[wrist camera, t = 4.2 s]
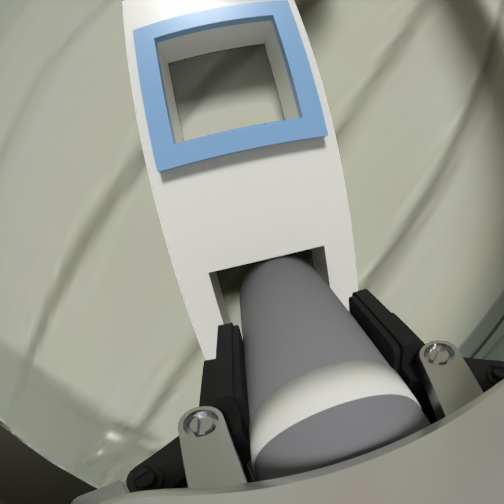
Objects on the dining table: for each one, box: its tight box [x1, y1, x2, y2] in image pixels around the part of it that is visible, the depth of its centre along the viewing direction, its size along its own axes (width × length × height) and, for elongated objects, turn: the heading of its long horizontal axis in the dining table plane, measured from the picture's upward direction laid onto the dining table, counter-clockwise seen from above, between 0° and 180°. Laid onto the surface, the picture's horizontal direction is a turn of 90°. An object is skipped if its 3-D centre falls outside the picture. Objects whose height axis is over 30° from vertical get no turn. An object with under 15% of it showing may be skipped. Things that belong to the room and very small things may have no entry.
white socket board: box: [122, 0, 358, 360], centre depth 14 cm, size 26×9×4 cm, turn 13°
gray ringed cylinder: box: [240, 255, 431, 482], centre depth 9 cm, size 4×4×11 cm
